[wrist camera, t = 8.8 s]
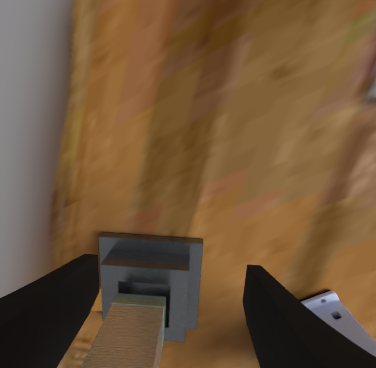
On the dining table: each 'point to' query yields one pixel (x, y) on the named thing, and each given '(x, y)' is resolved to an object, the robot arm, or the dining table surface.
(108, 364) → the post
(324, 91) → the dining table surface
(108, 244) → the stand base
